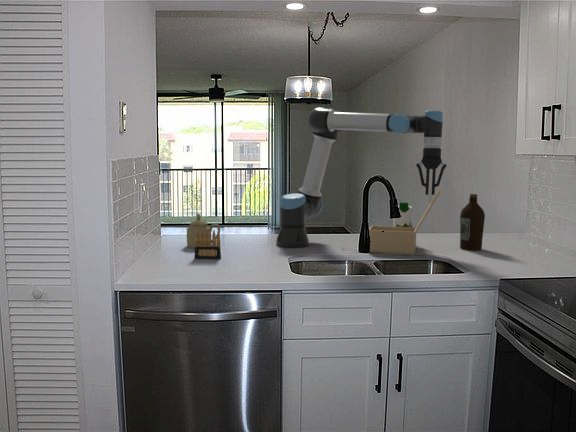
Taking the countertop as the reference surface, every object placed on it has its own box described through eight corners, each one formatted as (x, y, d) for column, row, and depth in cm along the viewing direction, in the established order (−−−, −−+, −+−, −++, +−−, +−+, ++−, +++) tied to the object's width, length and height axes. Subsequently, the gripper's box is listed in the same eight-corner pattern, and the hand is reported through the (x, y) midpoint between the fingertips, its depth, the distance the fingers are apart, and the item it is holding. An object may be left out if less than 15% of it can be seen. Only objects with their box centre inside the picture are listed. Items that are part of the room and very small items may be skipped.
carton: (367, 252, 250) (368, 229, 249) (371, 247, 262) (371, 225, 261) (414, 255, 245) (414, 232, 243) (415, 249, 257) (416, 227, 256)
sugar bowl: (218, 243, 268) (218, 211, 266) (220, 248, 257) (220, 214, 255) (186, 244, 265) (186, 212, 263) (187, 248, 254) (186, 215, 253)
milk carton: (393, 245, 267) (394, 203, 264) (391, 242, 276) (393, 201, 273) (412, 246, 266) (414, 203, 263) (410, 242, 275) (411, 201, 272)
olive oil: (473, 246, 268) (475, 192, 264) (488, 250, 258) (491, 195, 254) (453, 247, 264) (456, 193, 261) (468, 251, 254) (471, 195, 251)
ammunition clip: (194, 258, 233) (193, 229, 231) (195, 258, 235) (194, 229, 233) (220, 259, 233) (220, 230, 231) (221, 258, 235) (220, 229, 233)
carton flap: (439, 190, 238) (441, 191, 238) (439, 187, 251) (441, 188, 251) (414, 231, 243) (416, 232, 243) (416, 226, 256) (418, 227, 256)
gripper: (416, 147, 242) (413, 202, 245) (448, 147, 238) (445, 204, 241) (417, 147, 249) (414, 200, 252) (448, 147, 245) (445, 202, 248)
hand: (429, 202), depth 247 cm, fingers closed
